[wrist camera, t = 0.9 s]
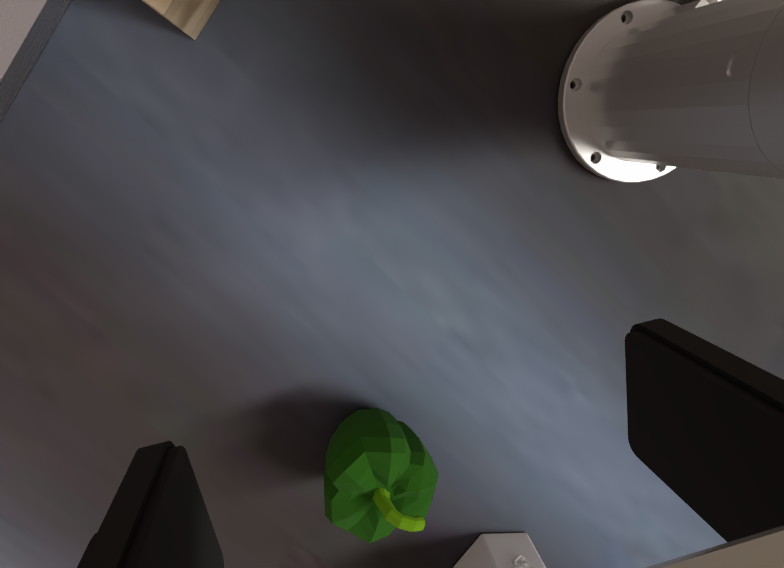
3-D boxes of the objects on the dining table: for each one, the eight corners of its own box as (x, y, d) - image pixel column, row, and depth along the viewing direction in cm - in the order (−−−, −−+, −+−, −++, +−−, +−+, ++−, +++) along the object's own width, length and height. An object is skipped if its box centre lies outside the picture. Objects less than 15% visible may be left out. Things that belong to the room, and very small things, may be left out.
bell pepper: (297, 447, 43) (296, 539, 33) (362, 375, 42) (379, 447, 32) (374, 495, 45) (393, 592, 36) (436, 428, 44) (472, 509, 35)
